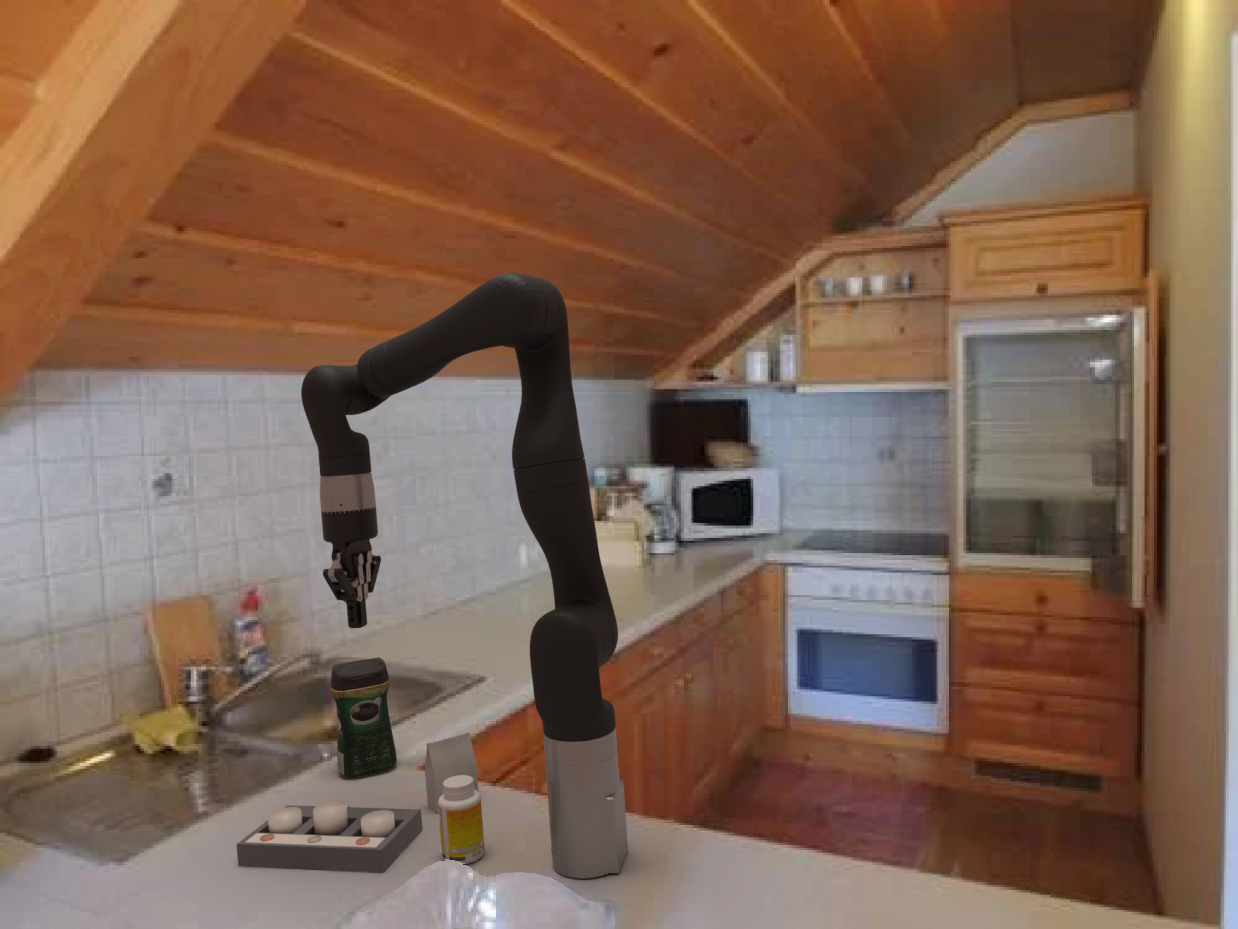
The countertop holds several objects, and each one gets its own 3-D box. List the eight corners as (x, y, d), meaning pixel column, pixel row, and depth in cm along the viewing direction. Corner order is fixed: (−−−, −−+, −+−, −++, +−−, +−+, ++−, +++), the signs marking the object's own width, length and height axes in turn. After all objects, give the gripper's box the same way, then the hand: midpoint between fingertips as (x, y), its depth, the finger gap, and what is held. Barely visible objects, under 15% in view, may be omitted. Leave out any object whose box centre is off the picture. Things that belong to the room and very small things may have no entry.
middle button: (354, 822, 126) (352, 801, 126) (338, 837, 121) (336, 815, 121) (325, 821, 127) (323, 800, 127) (308, 836, 122) (306, 814, 122)
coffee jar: (392, 756, 158) (384, 651, 157) (400, 771, 151) (392, 661, 150) (334, 768, 154) (326, 660, 153) (340, 783, 147) (331, 671, 146)
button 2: (401, 832, 124) (399, 810, 124) (386, 847, 120) (384, 825, 120) (371, 830, 125) (370, 809, 125) (356, 845, 121) (354, 824, 121)
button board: (422, 830, 128) (420, 807, 128) (383, 872, 116) (381, 847, 116) (289, 825, 132) (287, 803, 132) (238, 866, 121) (236, 842, 120)
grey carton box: (479, 800, 137) (474, 736, 136) (437, 814, 133) (432, 747, 133) (468, 793, 140) (464, 729, 139) (427, 806, 136) (422, 741, 136)
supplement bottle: (493, 854, 119) (488, 778, 119) (459, 871, 115) (453, 793, 115) (467, 843, 123) (462, 769, 123) (433, 859, 119) (428, 783, 118)
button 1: (309, 828, 127) (307, 807, 127) (291, 843, 123) (290, 821, 123) (281, 827, 128) (279, 806, 128) (262, 842, 124) (261, 820, 124)
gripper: (349, 510, 121) (359, 638, 122) (393, 500, 134) (402, 616, 135) (298, 512, 123) (309, 639, 123) (347, 502, 135) (356, 617, 136)
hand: (358, 626), depth 129 cm, fingers closed
